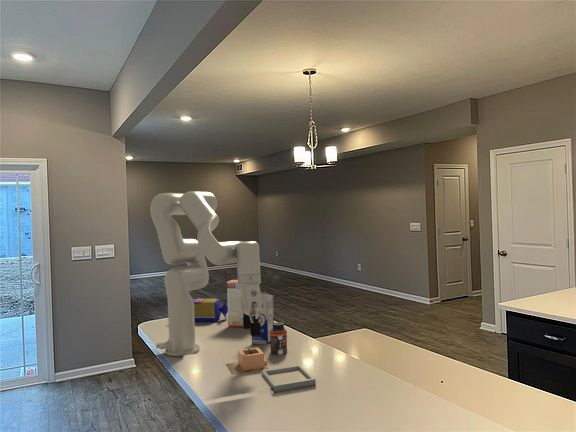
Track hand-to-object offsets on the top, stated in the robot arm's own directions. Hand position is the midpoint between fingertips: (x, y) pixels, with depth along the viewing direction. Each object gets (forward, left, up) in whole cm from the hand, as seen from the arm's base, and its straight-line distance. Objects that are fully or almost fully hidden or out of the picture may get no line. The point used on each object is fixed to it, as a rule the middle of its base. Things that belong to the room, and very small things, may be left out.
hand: (251, 331), depth 135 cm
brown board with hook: (-2, +1, -12) cm, 12 cm away
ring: (0, +1, -11) cm, 11 cm away
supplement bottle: (+12, +10, -12) cm, 20 cm away
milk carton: (+11, +27, -12) cm, 31 cm away
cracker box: (+10, +55, -12) cm, 57 cm away
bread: (-6, +75, -13) cm, 76 cm away
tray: (+7, -14, -12) cm, 20 cm away
